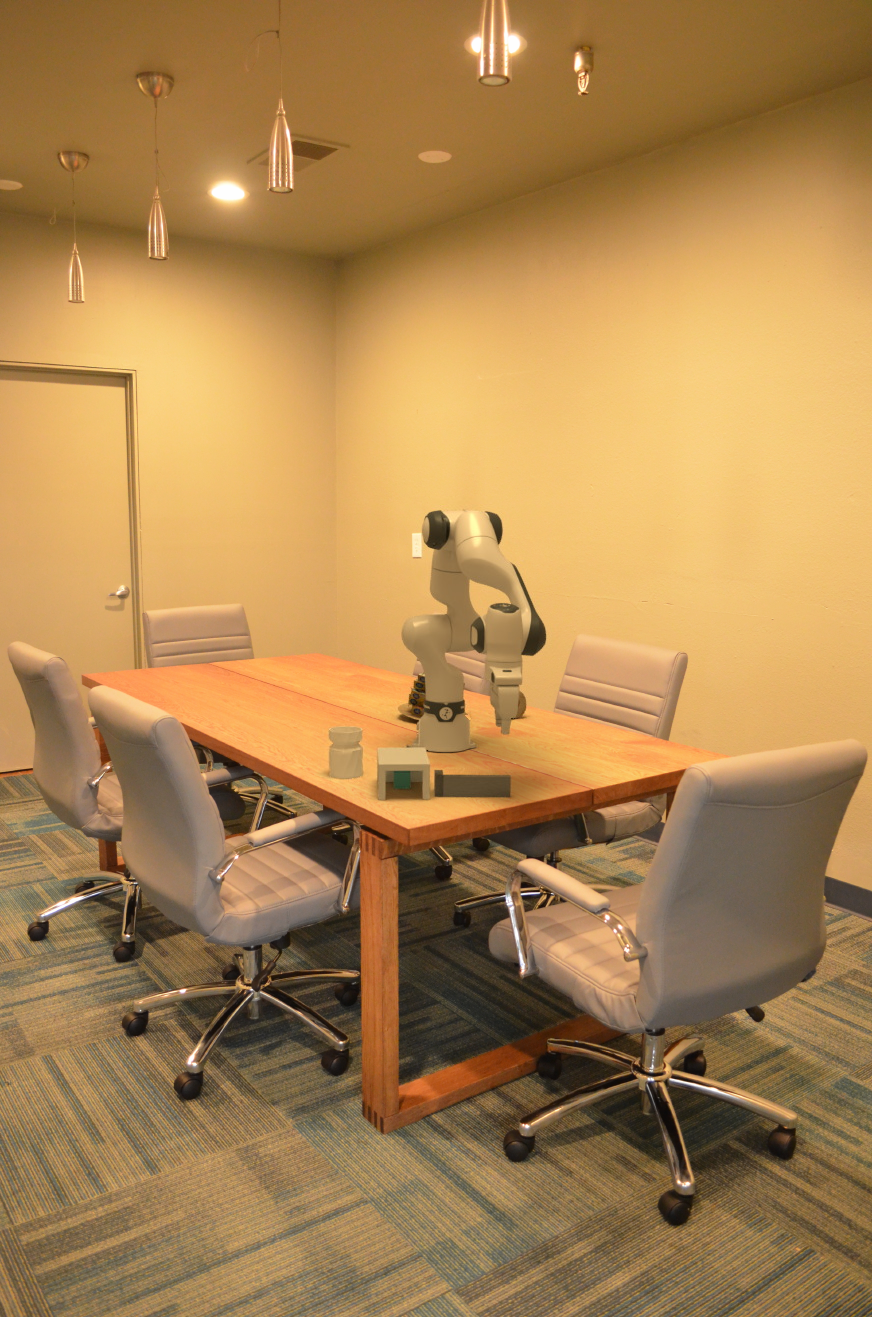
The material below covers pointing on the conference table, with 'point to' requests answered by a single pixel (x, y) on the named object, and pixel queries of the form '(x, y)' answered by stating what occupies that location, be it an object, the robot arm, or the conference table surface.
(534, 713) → the conference table surface
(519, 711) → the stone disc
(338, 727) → the pale lidded jar
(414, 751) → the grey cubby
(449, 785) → the dark grey long block
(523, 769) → the conference table surface
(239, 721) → the conference table surface
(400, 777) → the teal block
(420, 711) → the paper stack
